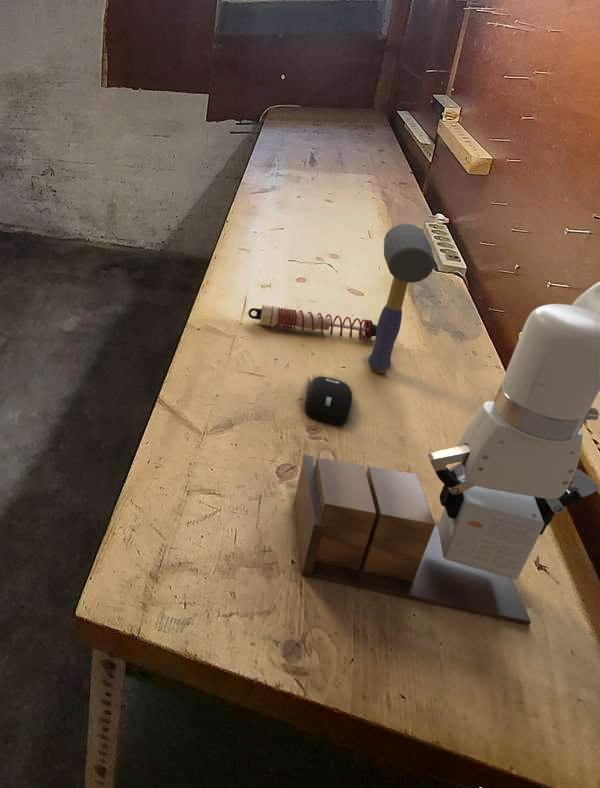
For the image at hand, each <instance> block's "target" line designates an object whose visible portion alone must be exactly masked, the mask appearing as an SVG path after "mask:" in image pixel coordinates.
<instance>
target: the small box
mask: <svg viewBox="0 0 600 788" xmlns="http://www.w3.org/2000/svg"><path fill="white" fill-rule="evenodd" d="M463 478H465V475H462V476H460V477H458V478H457V479H458V481H459V480H461V479H463ZM462 494H463V496H464V500H463V502H462V504H461V507H460V510H459V512H458V515H457V517H456V518H454V519H453V518H449V517H448V514H447V512H446V509H445V507H444V506H443V509H442V512H441V514H440V517H439V520H438V523H437V526H438V530H439V536H440V542H441V548H442V553H443V558H444V559H446V560H450V561H453V562H457V563H460V564H463V565H467V566H470V567H473V568H477V569H480V570H483V571H487V572H490V573H494V574H497V575H500V576H504V577H507V578H511V579H512V580H513V581H514V580H515V581H517V580H518V579H519V577H520V575H521V573H522V571H523V570H524V567H525V565H526V562H527V561H528V559H529V556H530V555H531V553H532V551H533V548H534V546H535V545H536V542H537V540H538V539H539V537H540V536H541V535H540V533H541V530H542V529H543V526H544V522H543V519H542V516H541V514H540V511H539V508H538V506H537V503H536V500H535V497H533V496H526V495H520V494H514V493H509V492H503V491H497V490H492V489H487V488H482V487H478V486H474V487H472V488H470V489H468V490H466V491H464V492H462Z"/></svg>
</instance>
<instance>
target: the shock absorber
mask: <svg viewBox="0 0 600 788" xmlns="http://www.w3.org/2000/svg"><path fill="white" fill-rule="evenodd" d="M247 312H248V317H249V318H250V319H252V320H258V321H259V323H260V325H263V326H268V327H273V328H274V327H276V326H277V327H281V328H287V329H289V328H290V329H293V330H295V329H296V328H301V329H302V331H305V329H309V330H311V333H313V332H314V331H317V330H320V333H321V334H323V333H324V331H330V335H333V330H334V327H335V328H340V332H339V336H343V329H346V330H349V338H352V335H353V330H355V331H358V338H359V339H363V340H367V341H368V340H370V339H372V338H373V337H376V331H377V324H374V323H373V321H372V319H364V318H363V319H362V320H361V319H360V318H359V317H357V318H355V319H354V320H353V321H352V319H351V318H350V316H346V317H345V318H344V319H343V321H342V317H340V315H336V316H335V317H334V319H333V317H332V314H329V313H328V314H326V316H323V314H322V313H320V312H318V313H317V314H313V312H311V311H308V312H307V313H304V312H303V310H301V309H300V310H299V311H297V309H292V308H291V309H290V308H286V307H285V308H283V307H281V308H280V306H279V307H278V306H277V305H270V304H269V305H268V304H262V306H261V308H255V307H252V308H250V309H248V311H247ZM252 312H256V314H255V315H252ZM328 317H329V318H328ZM337 318H338V319H339V323H336V321H337ZM347 320H348V321H349V325H348V324H345V322H346V321H347ZM356 321H358V324H359V326H355V323H356ZM362 325H363V326H362Z"/></svg>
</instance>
